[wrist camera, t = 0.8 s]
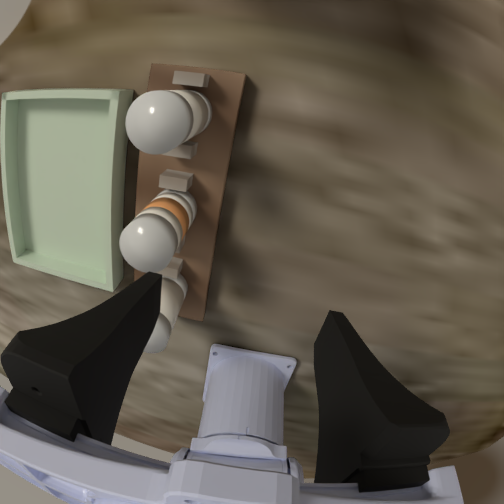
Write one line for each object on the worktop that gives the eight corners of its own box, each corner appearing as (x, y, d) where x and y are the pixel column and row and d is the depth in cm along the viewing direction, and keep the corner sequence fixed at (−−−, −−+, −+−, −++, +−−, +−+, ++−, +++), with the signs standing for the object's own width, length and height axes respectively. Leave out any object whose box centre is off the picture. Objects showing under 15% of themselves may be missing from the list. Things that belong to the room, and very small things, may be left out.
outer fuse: (208, 139, 19) (182, 159, 14) (163, 132, 19) (122, 150, 14) (216, 93, 18) (192, 94, 12) (169, 87, 18) (129, 88, 12)
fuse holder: (204, 314, 27) (199, 333, 25) (138, 298, 27) (128, 316, 25) (246, 74, 18) (242, 72, 16) (157, 64, 18) (142, 62, 16)
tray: (123, 277, 26) (113, 292, 24) (26, 250, 25) (13, 262, 24) (133, 89, 19) (119, 90, 17) (19, 90, 18) (2, 93, 16)
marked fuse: (194, 231, 22) (170, 278, 17) (154, 223, 22) (119, 266, 17) (199, 190, 21) (174, 228, 16) (157, 183, 21) (119, 217, 15)
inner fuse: (186, 304, 25) (166, 357, 20) (151, 295, 25) (124, 346, 20) (189, 273, 24) (167, 325, 19) (151, 264, 24) (121, 313, 19)
